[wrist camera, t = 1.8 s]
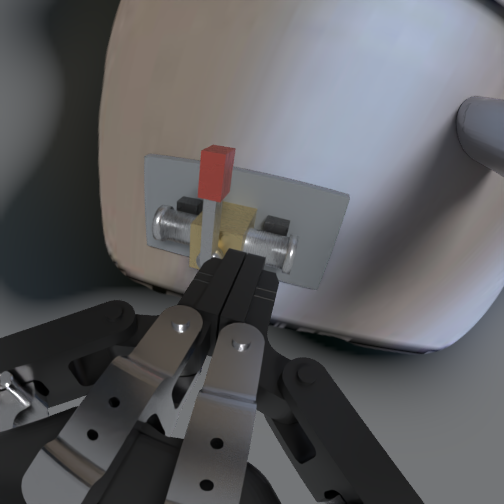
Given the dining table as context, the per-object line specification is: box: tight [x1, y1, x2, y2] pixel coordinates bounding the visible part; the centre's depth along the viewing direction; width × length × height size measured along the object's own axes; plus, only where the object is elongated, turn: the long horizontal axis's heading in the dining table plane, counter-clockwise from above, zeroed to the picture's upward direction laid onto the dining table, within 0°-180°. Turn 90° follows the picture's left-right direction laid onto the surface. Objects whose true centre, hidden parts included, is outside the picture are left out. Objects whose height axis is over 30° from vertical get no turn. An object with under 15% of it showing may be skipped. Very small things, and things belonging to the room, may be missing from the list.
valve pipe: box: [152, 196, 299, 275], centre depth 34 cm, size 18×6×8 cm, turn 81°
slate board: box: [144, 154, 350, 290], centre depth 38 cm, size 28×15×2 cm, turn 81°
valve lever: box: [196, 145, 235, 268], centre depth 26 cm, size 14×3×3 cm, turn 171°
